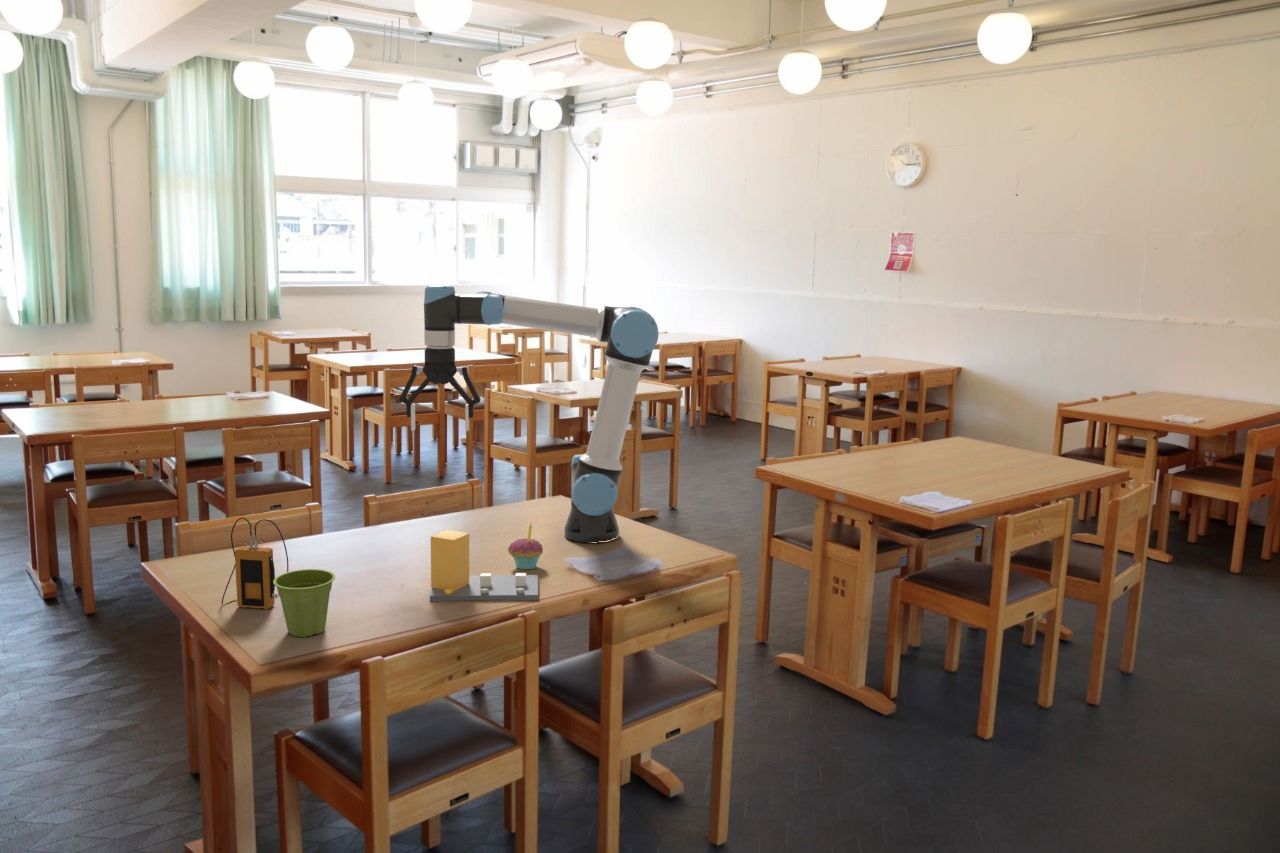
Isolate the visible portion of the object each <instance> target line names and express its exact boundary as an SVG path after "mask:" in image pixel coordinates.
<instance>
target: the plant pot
mask: <svg viewBox="0 0 1280 853" xmlns="http://www.w3.org/2000/svg"><path fill="white" fill-rule="evenodd" d="M335 579H336V575H335V573H333V572H332V571H329V570H325V569H319V568H317V569H315V568H313V569H312V568H309V569H308V568H307V569H306V568H305V569H304V568H303V569H297V570H291V571H288V572H287V571H286V572H284V573H281V574H279V575H277V576H275V579H274V581H273V583H274V585H275V588H276V590H277V594H279V595H278V596H279V600H280V602H281V607H282V611H283V612H282V613H283V615H284V620H285V625H286V628H287V633H288V634H290V635H291V636H292V637H296V636H297V638H301V637H302V638H307V636H309V637H311V636H313V635H319V634H321V633H322V632H324V631H325V630H326V624H327V618H328V610H329V609H328V608H329V600H330V593H331V590H332V586H333V582H334V580H335Z"/></svg>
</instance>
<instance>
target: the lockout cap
mask: <svg viewBox="0 0 1280 853" xmlns="http://www.w3.org/2000/svg"><path fill="white" fill-rule="evenodd" d="M469 576H470V532H469V533H467V532H463V531H456V530H450V529H445V530H443V531H441V532H439V533H435V534H433V535H431V536H430V587H431V588H432V587H433V588H438V589H443V590H445V589H452V590H453V591H456V590H458V589H460V588H462V587H464V586H466V585H468V584H469Z"/></svg>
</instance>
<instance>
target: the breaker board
mask: <svg viewBox="0 0 1280 853" xmlns="http://www.w3.org/2000/svg"><path fill="white" fill-rule="evenodd" d="M470 600H487V601H539V575H538V574H527V573H526V572H516V573H515V574H511V575H510V574H508V575H507V574H506V575H505V574H502V575H501V574H500V575H499V574H497V575H496V574H495V575H493V574H492V573H491V572H489V573H485V572H484V573H480V575H469V584H468V585H466V586H464V587H462V588H460V589H458V590H456V591H453V590H452V589H445V590H443V589H438V588H433V587H431V591H430V594H429V602H455V601H456V602H460V601H461V602H463V601H465V602H466V601H469V602H470Z"/></svg>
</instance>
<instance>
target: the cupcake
mask: <svg viewBox="0 0 1280 853" xmlns="http://www.w3.org/2000/svg"><path fill="white" fill-rule="evenodd" d="M532 528H533V525H532V521H531V522H530V524H529V526H528V532H527V538H525V537H524V538H518V539H516V540H514V541H513V542H511V543H510V545H509V546H508V549H507V550H508V551H507V552H508V554H509V555H510V556H512V558H513V560H514V562H515V565H516V566H515V567H516V568H517V569H518V568H520V569H519V570H522V569H530V570H533V569H532V568H534V569H535V568H537V563H538V560H539V558H540V556H541V555H542V554H543V553H544V552H543V551H544V549H543V545H542V544H541V542H539V541H537V540H536V539H534V538H532V535H531V534H532Z"/></svg>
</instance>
